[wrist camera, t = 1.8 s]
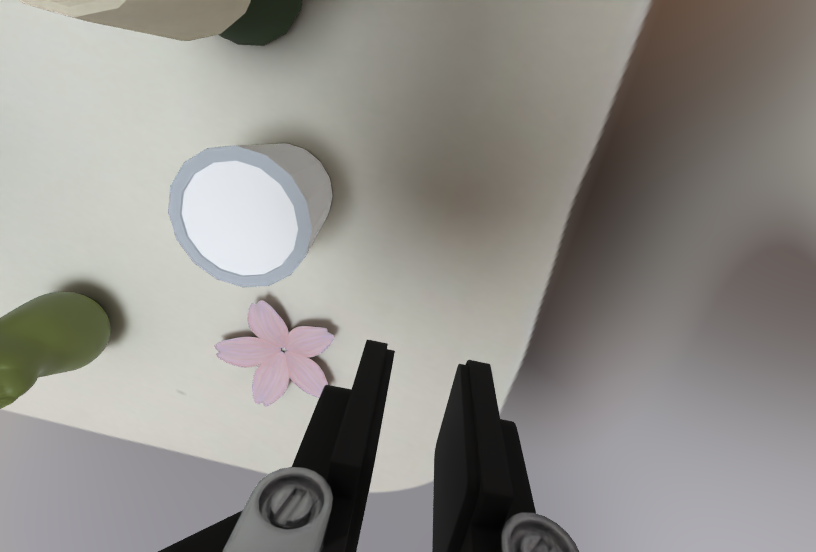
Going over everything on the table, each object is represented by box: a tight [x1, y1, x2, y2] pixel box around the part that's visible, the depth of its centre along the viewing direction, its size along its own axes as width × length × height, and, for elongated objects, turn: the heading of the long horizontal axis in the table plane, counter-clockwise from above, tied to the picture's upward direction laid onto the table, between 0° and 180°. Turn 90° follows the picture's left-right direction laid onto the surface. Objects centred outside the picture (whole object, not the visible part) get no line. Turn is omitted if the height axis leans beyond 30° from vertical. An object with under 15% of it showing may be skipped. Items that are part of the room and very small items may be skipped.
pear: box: [0, 292, 111, 409], centre depth 27 cm, size 6×5×10 cm
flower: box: [214, 300, 334, 406], centre depth 30 cm, size 10×10×2 cm
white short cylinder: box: [168, 143, 333, 287], centre depth 24 cm, size 7×7×7 cm
